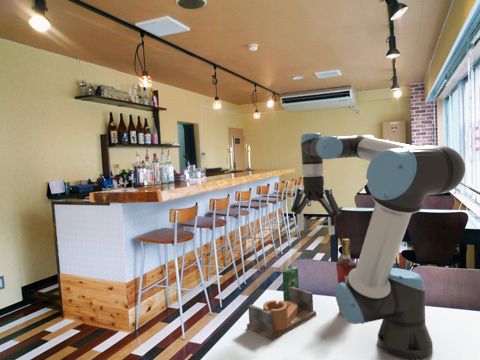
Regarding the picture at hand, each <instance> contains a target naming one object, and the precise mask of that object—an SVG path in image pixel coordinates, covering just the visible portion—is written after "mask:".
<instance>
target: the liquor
mask: <svg viewBox="0 0 480 360" xmlns="http://www.w3.org/2000/svg"><path fill="white" fill-rule="evenodd" d="M341 247H342V253H341V254H342V257H341V260H338V261H337V262H336V263H335V266H336V277H337V284H339V283H341V282H343V283H344V282H346V281H347V278H348V275H349V272H350V271H351V270H352V269H354V268H357V264H358V263H356V262H355V260H354V261H353V260H351V252H350V239H349V238H342V239H341ZM338 311H339V313H341V311H340V309H339V308H338Z"/></svg>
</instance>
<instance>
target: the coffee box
mask: <svg viewBox="0 0 480 360" xmlns="http://www.w3.org/2000/svg"><path fill="white" fill-rule="evenodd" d="M290 287H295V288H298V289H300V287H299V268H298V267H297V266H291V267H289V268H287V269H285V270H282V288H283V289H282V293H283V301H290Z"/></svg>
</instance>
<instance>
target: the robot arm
mask: <svg viewBox="0 0 480 360" xmlns="http://www.w3.org/2000/svg"><path fill="white" fill-rule="evenodd" d="M300 148H301V149H300V153H301V165H302V166H301V168H302V170H301V171H302V175H303V177H302V186H303V187H300V188H297V189H296V195H295V198H294V200H293V204H292V207H291V212H292V213H294V214H295V220H296V221H295V222H296V223H297V231H298V232H302V231H304V230H305V224H304V213H303V211H304V209H305V207H306V206H307V205H308V203H309V202H312V201H314V202H318V203H319V204H320V205H321V206H322V207H323V208H324V210H325V211H326V213H327V214H328V217H327V224H328V225H327V226H328V236H333V235H336V233H335V232H336V231H335V230H336V229H335V226H337V216H339V215H341V214H342V212H341V209H340V207H339V206H338V203H337V201H336V200H335V198H334V195H333V192H332V191H333V190H332V188H326V189H325V188H324V186H325V179H324V178H325V177H324V162H323V161H324V160H334V159H345V158H358V159H360V160H361V159H362V160H365V161H369V164H368V166H367V169H366V175H365V176H366V177H365V178H366V180H367V182H366V186H367V189H368V191H369V192H370V194H371V198H372V200H373V202H374V203H375V204H374V206H373V209H372V214H371V218H370V220H369V225H368V228H367V231H366V234H365V237H364V241H363V244H362V248H361V251H360V255H359V258H358V261H357V263H356V264H357V268H354V269H352V270H351V271H350V272H349V275H348V278H347V281H346V282H344V283H343V282H341V283H339V284H338V283H337V285H335V290H334V293H335V294H334V295H335V301H336V304H337V307H338V310H339V309H340V311H341V312H340V311H339V312H340V314H341V315H342V317H343V318H344V319H345V320H346V321H347V322H348V323H349V324H352V325H357V324H361V325H362V324H365V323H370V322H375V321H379V320H382V322H381V324H380V326H379V330H378V333H377V344H378V346H379V347H380V349H382V350H383V351H384V352H385V353H387V354H389V355H391V356H394V357H397V358H400V359H405V360H422V359H426V358H428V357H430V356H431V355H432V354H433V351H434V349H433V348H434V347H433V346H434V345H433V340H432V337H431V335H430V333H429V330H428V326H427V324H426V289H425V281H424V278H423V276H421V275H420V274H419V273H417V272H414V271H411V270H408V269H404V268H398V267H394V264H395V261H396V258H397V256H398V253H399V250H400V248H401V245H402V241H403V239H404V237H405V234H406V230H407V228H408V225H409V224H410V223H409V222H410V219H411V217H412V215H413V214H416V213H418V212H420V211H421V210H422V207H423V205H424V202H425V199H426V197H427V196H431V195H432V196H433V195H434V196H435V195H441V194H445V193H448V192H450V191H452V190H454V189H455V188H457V187H458V186H459V185H460V184H461V183H462V181H463V179H464V177H465V173H466V163H465V161H464V158H463V156H462V155H461V154H459V152H458V151H456V150H455V149H453V148H451V147H449V146H445V145H444V146H443V145H432V144H426V145H422V146H417V145H412V144H407V143H403V142H402V143H401V142H398V141H397V142H395V141H391V140H386V139H381V138H380V139H379V138H375V136H373V135H372V134H359V135H357V134H356V135H340V136H339V135H338V136H336V135H326V136H325V135H324V136H322V134H321V133H319V132H311V133H303V134H302V135H301V137H300ZM303 195H304V196H303Z"/></svg>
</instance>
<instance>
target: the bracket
mask: <svg viewBox="0 0 480 360" xmlns="http://www.w3.org/2000/svg"><path fill="white" fill-rule="evenodd" d="M262 306H263V307H262V309H263V310H266V311H268V312H271V313H272V330H274V331H278V330H283V329H285V328H287V327H288V326H289V324H290V323H291V322H292V320H293V319H294V318H295V317H296V315H297V314H298V307H297V304H296V303H295V302H292V301H284V300H279V301H278V302H277V300H275V299H274V300H268V301H266V302H265V303H263V305H262Z"/></svg>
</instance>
